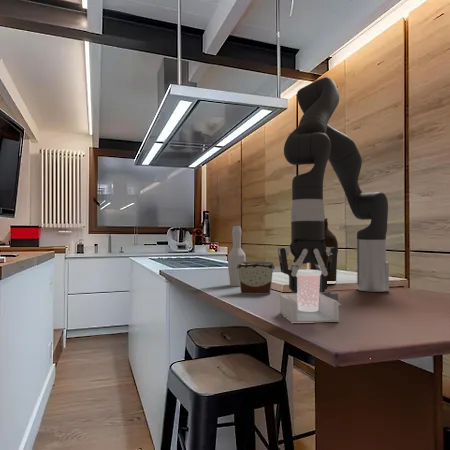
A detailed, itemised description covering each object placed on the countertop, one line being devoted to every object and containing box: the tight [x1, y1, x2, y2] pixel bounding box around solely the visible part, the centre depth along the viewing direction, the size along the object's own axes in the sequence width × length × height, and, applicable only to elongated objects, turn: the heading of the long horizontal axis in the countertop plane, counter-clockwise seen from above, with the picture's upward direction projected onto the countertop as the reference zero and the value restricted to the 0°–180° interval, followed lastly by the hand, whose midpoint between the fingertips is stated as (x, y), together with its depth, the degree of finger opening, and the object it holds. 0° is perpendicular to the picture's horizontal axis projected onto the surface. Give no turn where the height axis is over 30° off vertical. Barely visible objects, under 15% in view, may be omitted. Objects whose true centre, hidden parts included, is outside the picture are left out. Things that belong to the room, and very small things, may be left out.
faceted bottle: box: [227, 225, 247, 287], centre depth 138 cm, size 6×6×22 cm
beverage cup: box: [296, 263, 321, 312], centre depth 86 cm, size 6×6×14 cm
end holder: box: [279, 293, 340, 323], centre depth 86 cm, size 10×10×5 cm
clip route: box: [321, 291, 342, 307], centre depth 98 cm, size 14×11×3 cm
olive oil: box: [309, 217, 339, 282], centre depth 144 cm, size 11×11×25 cm
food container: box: [236, 260, 276, 295], centre depth 122 cm, size 12×6×10 cm, turn 84°
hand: (307, 291), depth 86 cm, fingers closed on beverage cup, 6 cm apart
